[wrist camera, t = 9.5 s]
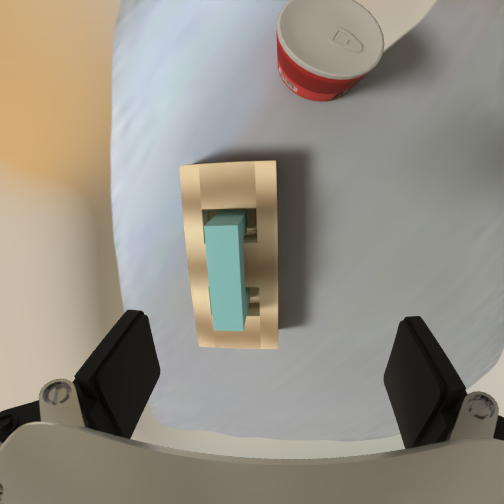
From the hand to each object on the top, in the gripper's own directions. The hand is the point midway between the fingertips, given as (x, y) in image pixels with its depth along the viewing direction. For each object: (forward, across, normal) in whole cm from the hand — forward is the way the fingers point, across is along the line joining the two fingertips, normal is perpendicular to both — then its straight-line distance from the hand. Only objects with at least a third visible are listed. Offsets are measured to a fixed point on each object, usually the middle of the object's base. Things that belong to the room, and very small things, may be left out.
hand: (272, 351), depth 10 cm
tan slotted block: (+23, +4, +5) cm, 23 cm away
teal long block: (+22, +4, +5) cm, 23 cm away
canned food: (+24, -4, -16) cm, 28 cm away
